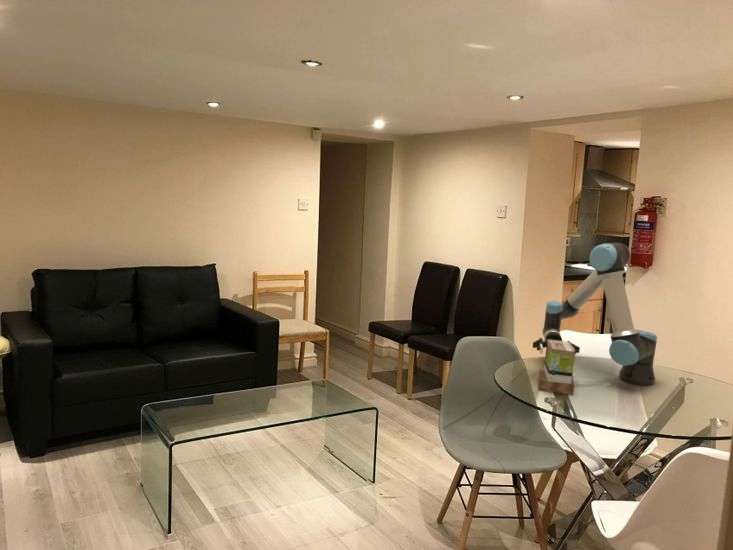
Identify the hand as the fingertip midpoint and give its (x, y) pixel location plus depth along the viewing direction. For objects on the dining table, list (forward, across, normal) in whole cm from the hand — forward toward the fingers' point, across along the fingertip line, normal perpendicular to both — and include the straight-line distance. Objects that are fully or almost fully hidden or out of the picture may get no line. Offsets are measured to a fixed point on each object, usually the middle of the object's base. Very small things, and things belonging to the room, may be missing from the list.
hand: (557, 352), depth 258 cm
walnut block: (+3, 0, -15) cm, 15 cm away
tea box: (+3, 0, -10) cm, 11 cm away
